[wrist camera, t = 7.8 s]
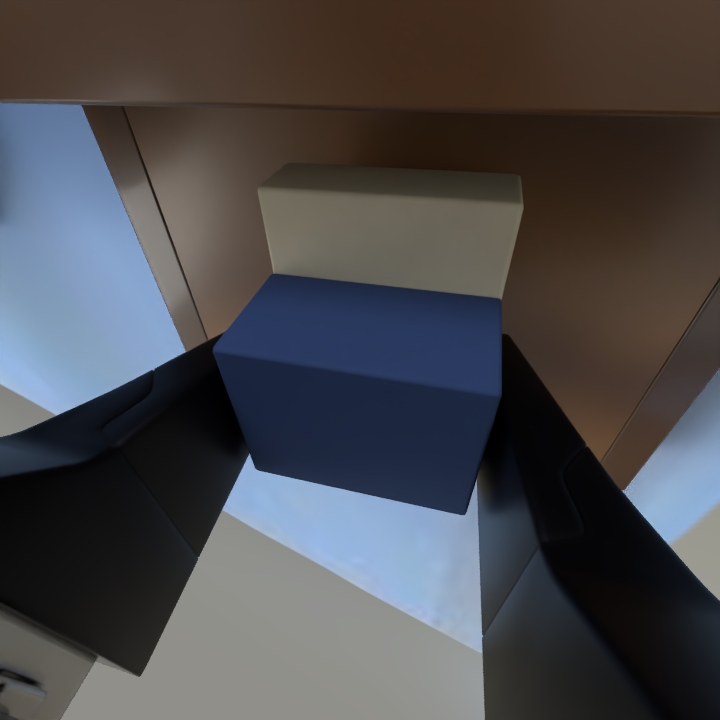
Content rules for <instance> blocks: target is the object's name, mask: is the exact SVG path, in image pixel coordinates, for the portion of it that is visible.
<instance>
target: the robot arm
mask: <svg viewBox="0 0 720 720" xmlns="http://www.w3.org/2000/svg"><path fill="white" fill-rule="evenodd" d="M225 332H226V331H225ZM225 332H223V333H221V334H219V335H217V336H215V337H213V338H212V339H210V340H208V341H206V342H204V343H202V344H200V345H198V346H196V347H195V348H193V349H191V350H189V351H187V352H185V353H183V354H181V355H179V356H178V357H176V358H174V359H172V360H170V361H168V362H166V363H164V364H162V365H161V366H159V367H157V368H155V370H154V371H153V370H151V371H149V372H147V373H145V374H143V375H142V376H140V377H138V378H136V379H134V380H132V381H130V382H128V383H126V384H124V385H122V386H120V387H118V388H116V389H114V390H112V391H110V392H108V393H106V394H103V395H101V396H99V397H97V398H95V399H93V400H90V401H88V402H86V403H84V404H82V405H79V406H77V407H75V408H73V409H70V410H68V411H66V412H64V413H62V414H59V415H57V416H55V417H53V418H50V419H48V420H46V421H44V422H42V423H39V424H37V425H35V426H33V427H30V428H28V429H26V430H23V431H21V432H18V433H14V434H11V435H8V436H3V437H0V720H60V719H61V718H62V716H63V714H64V712H65V711H66V709H67V708H68V706H69V704H70V702H71V701H72V699H73V698H74V696H75V694H76V693H77V691H78V689H79V688H80V686H81V684H82V683H83V681H84V679H85V677H86V676H87V674H88V673H89V671H90V669H91V668H92V666H93V664H94V663H95V661H96V662H99V663H102V664H105V665H108V666H110V667H113V668H116V669H119V670H122V671H124V672H127V673H130V674H133V675H136V676H138V677H140V676H141V674H142V673H143V671H144V669H145V667H146V665H147V663H148V661H149V659H150V657H151V655H152V653H153V651H154V649H155V647H156V645H157V643H158V641H159V639H160V637H161V635H162V633H163V631H164V629H165V626H166V624H167V622H168V620H169V618H170V616H171V614H172V612H173V610H174V608H175V606H176V604H177V602H178V600H179V598H180V596H181V594H182V592H183V589H184V587H185V585H186V583H187V581H188V579H189V577H190V575H191V573H192V571H193V569H194V567H195V565H196V563H197V561H198V557H199V556H200V554H201V552H202V550H203V548H204V545H205V544H206V542H207V540H208V538H209V536H210V533H211V531H212V529H213V527H214V525H215V523H216V521H217V519H218V517H219V515H220V513H221V511H222V509H223V507H224V505H225V503H226V501H227V499H228V496H229V494H230V492H231V490H232V488H233V486H234V484H235V482H236V480H237V478H238V476H239V474H240V472H241V470H242V468H243V466H244V464H245V462H246V459H247V457H248V455H249V453H250V452H249V450H248V447H247V444H246V441H245V439H244V436H243V433H242V431H241V428H240V425H239V422H238V420H237V417H236V414H235V411H234V409H233V406H232V403H231V400H230V398H229V395H228V392H227V390H226V387H225V384H224V381H223V379H222V376H221V373H220V370H219V368H218V365H217V362H216V359H215V357H214V354H213V347H214V345H215V344H216V343H217V342H218V340H219V339H220V338H221V337H222V335H223V334H224V333H225ZM477 496H478V526H479V556H480V585H481V615H482V635H483V637H482V648H483V677H484V705H485V706H484V707H485V720H720V601H719V600H718V599H717V598H716V597H715V596H714V595H713V594H712V593H711V592H710V591H709V590H708V589H707V588H706V587H705V586H704V585H703V584H702V583H701V582H700V581H699V580H698V578H697V577H696V576H695V575H694V574H693V573H692V572H691V571H690V569H689V568H688V567H687V566H686V565H685V564H684V562H682V560H681V559H680V558H679V557H678V556H677V555H676V553H675V552H674V551H673V550H672V549H671V548H670V546H669V545H668V544H667V543H666V542H665V541H664V540H663V538H662V537H661V536H660V535H659V534H658V533H657V532H656V530H655V529H654V528H653V527H652V526H651V525H650V523H649V522H648V521H647V520H646V519H645V518H644V517H643V515H642V514H641V513H640V512H639V511H638V510H637V508H636V507H635V506H634V505H633V504H632V502H631V501H630V500H629V499H628V498H627V496H626V495H625V494H624V493H623V492H622V490H621V489H620V488H619V487H618V486H617V484H616V483H615V482H614V480H613V479H612V478H611V476H610V475H609V474H608V472H607V471H606V470H605V469H604V467H603V466H602V465H601V463H600V462H599V460H598V459H597V458H596V456H595V455H594V453H593V452H592V451H591V449H590V448H589V447H587V446H586V442H585V441H584V440H583V438H582V437H581V435H580V434H579V433H578V431H577V430H576V428H575V427H574V426H573V424H572V423H571V421H570V420H569V418H568V417H567V416H566V414H565V413H564V411H563V410H562V409H561V407H560V406H559V404H558V403H557V402H556V400H555V399H554V397H553V396H552V395H551V393H550V392H549V390H548V389H547V387H546V386H545V385H544V383H543V382H542V380H541V379H540V378H539V376H538V375H537V373H536V372H535V371H534V369H533V368H532V366H531V365H530V364H529V362H528V361H527V359H526V358H525V356H524V355H523V354H522V352H521V351H520V349H519V348H518V347H517V345H516V344H515V342H514V341H513V340H512V338H511V337H510V336H509V335H508V334H502V395H501V399H500V402H499V405H498V409H497V412H496V416H495V419H494V422H493V426H492V429H491V432H490V436H489V439H488V442H487V446H486V449H485V452H484V456H483V459H482V462H481V466H480V469H479V472H478V476H477Z"/></svg>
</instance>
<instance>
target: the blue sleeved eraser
mask: <svg viewBox="0 0 720 720" xmlns="http://www.w3.org/2000/svg"><path fill="white" fill-rule="evenodd" d="M258 196H259V201H260V207H261V212H262V217H263V222H264V227H265V232H266V237H267V242H268V247H269V252H270V257H271V262H272V267H273V272H274V274H271V275H270V276H269V278H268V279H267V280H266V281H265V283H264V284H263V285H262V286H261V288H260V289H259V290H258V291H257V293H256V294H255V295H254V297H253V298H252V299H251V300H250V302H249V303H248V304H247V305H246V307H245V308H244V309H243V310H242V312H241V313H240V314H239V315H238V317H237V318H236V319H235V320H234V322H233V323H232V324H231V325H230V327H229V328H228V329H227V330H226V332H225V333H224V334H223V335H222V337H221V338H220V339H219V340H218V342H217V343H216V344H215V345H214V347H213V354H214V357H215V359H216V362H217V365H218V368H219V370H220V373H221V376H222V379H223V381H224V384H225V387H226V390H227V392H228V395H229V398H230V400H231V403H232V406H233V409H234V411H235V414H236V417H237V420H238V422H239V425H240V428H241V431H242V433H243V436H244V439H245V441H246V444H247V447H248V450H249V452H250V455H251V458H252V461H253V463H254V466H255V469H257V470H259V471H263V472H268V473H272V474H277V475H281V476H286V477H291V478H295V479H300V480H304V481H309V482H313V483H318V484H322V485H327V486H331V487H336V488H341V489H345V490H350V491H354V492H359V493H363V494H368V495H372V496H377V497H381V498H386V499H391V500H395V501H400V502H404V503H409V504H413V505H418V506H422V507H427V508H431V509H436V510H441V511H445V512H450V513H454V514H459V515H465V514H466V512H467V509H468V506H469V502H470V499H471V496H472V492H473V489H474V486H475V482H476V479H477V476H478V472H479V469H480V466H481V462H482V459H483V456H484V452H485V449H486V446H487V442H488V439H489V436H490V432H491V429H492V426H493V422H494V419H495V416H496V412H497V409H498V405H499V402H500V399H501V395H502V301H501V299H502V295H503V291H504V287H505V283H506V279H507V275H508V271H509V267H510V262H511V258H512V254H513V250H514V246H515V242H516V238H517V234H518V229H519V225H520V221H521V217H522V213H523V209H524V207H523V196H522V185H521V177H520V176H519V175H517V174H505V173H485V172H465V171H445V170H425V169H405V168H385V167H365V166H345V165H325V164H305V163H287V164H285V165H284V166H283V167H282V168H281V169H279V170H278V171H277V172H276V173H275V174H273V175H272V176H271V177H270V178H269V179H267V180H266V181H265V182H264V183H263V184H261V185H260V186H259V187H258Z"/></svg>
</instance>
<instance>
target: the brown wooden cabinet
mask: <svg viewBox="0 0 720 720" xmlns="http://www.w3.org/2000/svg"><path fill="white" fill-rule="evenodd" d="M0 103H23V104H69V105H82V108H83V110H84V112H85V115H86V117H87V119H88V122H89V124H90V126H91V129H92V131H93V133H94V136H95V138H96V141H97V143H98V145H99V148H100V150H101V152H102V155H103V157H104V159H105V162H106V164H107V167H108V169H109V171H110V174H111V176H112V178H113V181H114V183H115V185H116V188H117V190H118V193H119V195H120V197H121V200H122V202H123V204H124V207H125V209H126V211H127V214H128V216H129V218H130V221H131V223H132V226H133V228H134V230H135V233H136V235H137V237H138V240H139V242H140V244H141V247H142V249H143V252H144V254H145V256H146V259H147V261H148V263H149V266H150V268H151V270H152V273H153V275H154V278H155V280H156V282H157V285H158V287H159V289H160V292H161V294H162V296H163V299H164V301H165V303H166V306H167V308H168V311H169V313H170V315H171V318H172V320H173V322H174V325H175V327H176V329H177V332H178V334H179V337H180V339H181V341H182V344H183V346H184V348H185V351H186V352H187V351H189V350H191V349H193V348H195V347H196V346H198V345H200V344H202V343H204V342H206V341H208V340H210V339H212V338H213V337H215V336H217V335H219V334H221V333H223V332H225V331H226V330H227V329H228V328H229V327H230V325H231V324H232V323H233V322H234V320H235V319H236V318H237V317H238V315H239V314H240V313H241V312H242V310H243V309H244V308H245V307H246V305H247V304H248V303H249V302H250V300H251V299H252V298H253V297H254V295H255V294H256V293H257V291H258V290H259V289H260V288H261V286H262V285H263V284H264V283H265V281H266V280H267V279H268V278H269V276H270V275H271V274H274V272H273V267H272V262H271V257H270V252H269V247H268V242H267V237H266V232H265V227H264V222H263V217H262V212H261V207H260V201H259V196H258V187H259V186H260V185H261V184H263V183H264V182H265V181H266V180H267V179H269V178H270V177H271V176H272V175H273V174H275V173H276V172H277V171H278V170H279V169H281V168H282V167H283V166H284V165H285V164H287V163H305V164H325V165H345V166H365V167H385V168H405V169H425V170H445V171H465V172H485V173H505V174H517V175H519V176H520V177H521V185H522V196H523V207H524V209H523V213H522V217H521V221H520V225H519V229H518V234H517V238H516V242H515V246H514V250H513V254H512V258H511V262H510V267H509V271H508V275H507V279H506V283H505V287H504V291H503V295H502V299H501V301H502V334H508V335H509V336H510V337H511V338H512V340H513V341H514V342H515V344H516V345H517V347H518V348H519V349H520V351H521V352H522V354H523V355H524V356H525V358H526V359H527V361H528V362H529V364H530V365H531V366H532V368H533V369H534V371H535V372H536V373H537V375H538V376H539V378H540V379H541V380H542V382H543V383H544V385H545V386H546V387H547V389H548V390H549V392H550V393H551V395H552V396H553V397H554V399H555V400H556V402H557V403H558V404H559V406H560V407H561V409H562V410H563V411H564V413H565V414H566V416H567V417H568V418H569V420H570V421H571V423H572V424H573V426H574V427H575V428H576V430H577V431H578V433H579V434H580V435H581V437H582V438H583V440H584V441H585V442H586V446H587V447H589V448H590V449H591V451H592V452H593V453H594V455H595V456H596V458H597V459H598V460H599V462H600V463H601V465H602V466H603V467H604V469H605V470H606V471H607V472H608V474H609V475H610V476H611V478H612V479H613V480H614V482H615V483H616V484H617V486H618V487H619V488H620V489H621V490H625V489H626V487H627V486H628V485H629V484H630V482H631V481H632V480H633V478H634V477H635V476H636V475H637V473H638V472H639V471H640V469H641V468H642V467H643V466H644V464H645V463H646V462H647V460H648V459H649V458H650V457H651V455H652V454H653V453H654V451H655V450H656V449H657V448H658V446H659V445H660V444H661V443H662V441H663V440H664V439H665V437H666V436H667V435H668V434H669V432H670V431H671V430H672V428H673V427H674V426H675V425H676V423H677V422H678V421H679V419H680V418H681V417H682V416H683V414H684V413H685V412H686V410H687V409H688V408H689V407H690V405H691V404H692V403H693V401H694V400H695V399H696V398H697V396H698V395H699V394H700V392H701V391H702V390H703V389H704V387H705V386H706V385H707V383H708V382H709V381H710V380H711V378H712V377H713V376H714V375H715V373H716V372H717V371H718V369H719V368H720V0H0Z"/></svg>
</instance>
